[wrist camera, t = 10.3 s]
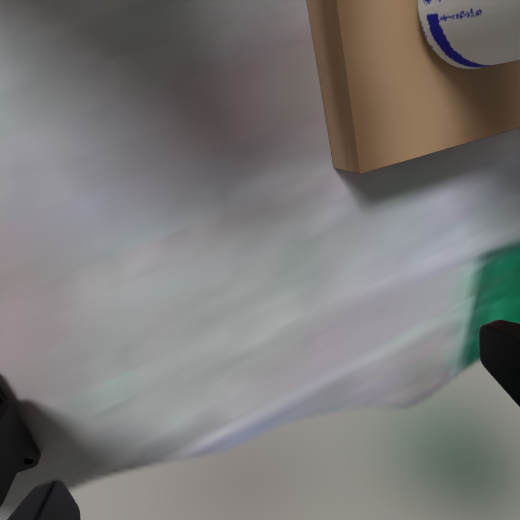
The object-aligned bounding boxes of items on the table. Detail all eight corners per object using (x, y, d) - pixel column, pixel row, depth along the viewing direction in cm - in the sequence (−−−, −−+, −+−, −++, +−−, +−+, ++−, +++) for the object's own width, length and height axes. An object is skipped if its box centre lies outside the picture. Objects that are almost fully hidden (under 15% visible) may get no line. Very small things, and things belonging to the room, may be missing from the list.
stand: (333, 167, 20) (360, 173, 17) (286, -123, 16) (312, -177, 13) (529, 111, 21) (582, 109, 19) (537, -167, 17) (608, -225, 14)
